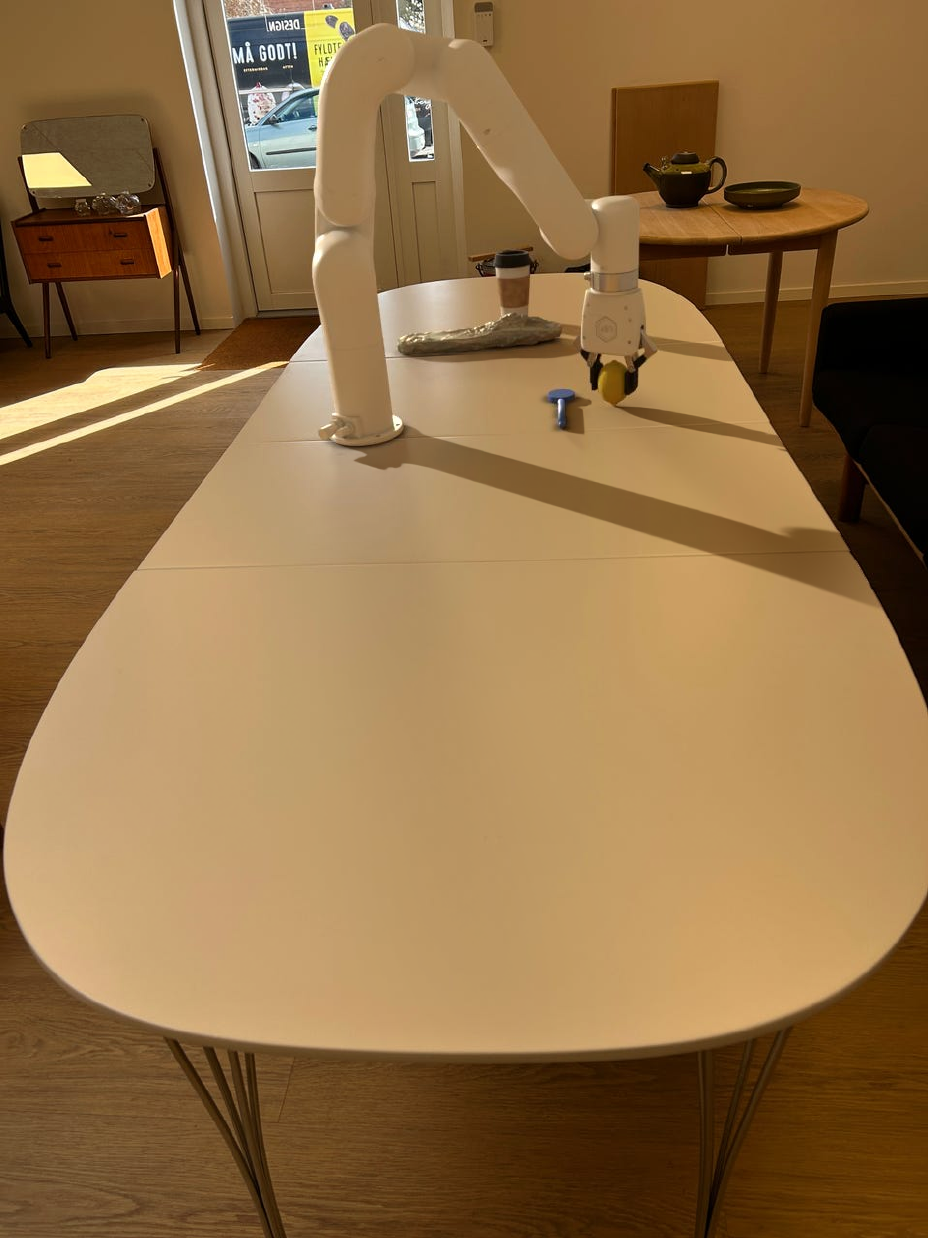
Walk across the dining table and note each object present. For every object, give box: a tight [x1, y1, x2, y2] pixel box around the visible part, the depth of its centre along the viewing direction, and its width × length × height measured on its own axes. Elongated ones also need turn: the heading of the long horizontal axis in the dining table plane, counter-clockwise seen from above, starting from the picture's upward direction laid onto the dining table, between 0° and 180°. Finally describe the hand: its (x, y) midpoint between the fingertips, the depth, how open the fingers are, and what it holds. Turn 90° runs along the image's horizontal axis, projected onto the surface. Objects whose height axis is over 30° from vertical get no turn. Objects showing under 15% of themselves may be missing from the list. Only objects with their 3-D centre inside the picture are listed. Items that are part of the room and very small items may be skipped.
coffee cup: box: [493, 249, 532, 317], centre depth 208 cm, size 8×8×15 cm
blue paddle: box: [547, 388, 576, 430], centre depth 160 cm, size 18×5×1 cm, turn 176°
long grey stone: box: [396, 312, 563, 356], centre depth 197 cm, size 35×5×10 cm
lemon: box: [597, 359, 628, 407], centre depth 159 cm, size 6×6×8 cm
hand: (613, 389), depth 159 cm, fingers closed on lemon, 5 cm apart
